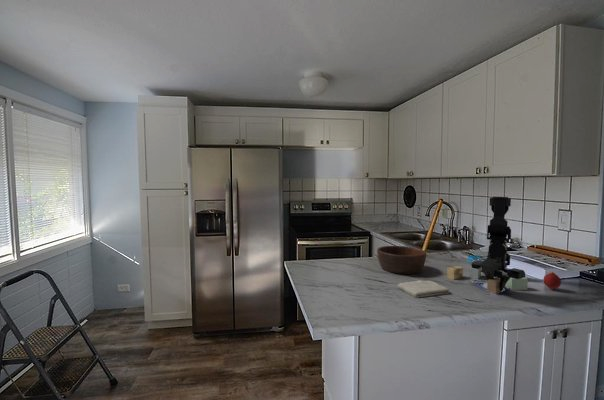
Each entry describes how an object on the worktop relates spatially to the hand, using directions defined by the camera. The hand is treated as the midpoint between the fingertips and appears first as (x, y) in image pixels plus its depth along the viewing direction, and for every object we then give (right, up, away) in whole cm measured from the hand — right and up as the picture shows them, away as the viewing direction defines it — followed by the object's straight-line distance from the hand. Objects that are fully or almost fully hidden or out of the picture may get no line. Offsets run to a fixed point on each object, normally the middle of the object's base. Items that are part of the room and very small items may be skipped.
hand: (496, 289), depth 123 cm
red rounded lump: (+26, -1, +3) cm, 26 cm away
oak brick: (-8, 0, +19) cm, 20 cm away
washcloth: (-31, -2, 0) cm, 31 cm away
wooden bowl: (-29, 0, +33) cm, 44 cm away
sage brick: (+12, -1, +4) cm, 12 cm away
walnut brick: (0, -1, 0) cm, 1 cm away
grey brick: (+3, 0, +20) cm, 20 cm away
